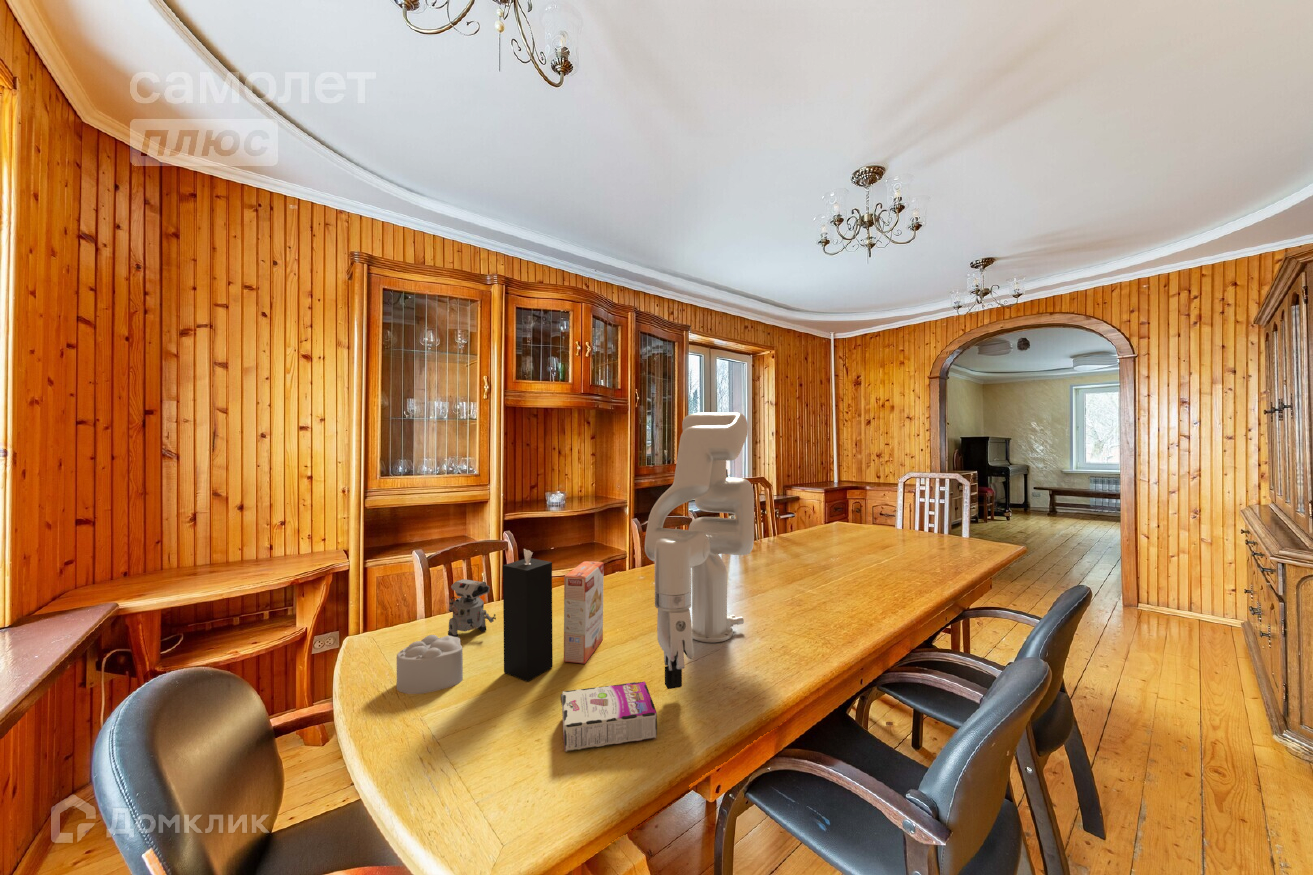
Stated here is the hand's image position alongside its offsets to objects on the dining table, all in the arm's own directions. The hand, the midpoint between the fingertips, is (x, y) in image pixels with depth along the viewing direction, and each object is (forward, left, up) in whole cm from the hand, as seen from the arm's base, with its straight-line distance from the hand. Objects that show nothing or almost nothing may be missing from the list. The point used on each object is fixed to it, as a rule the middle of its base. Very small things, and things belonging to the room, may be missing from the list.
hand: (673, 686), depth 99 cm
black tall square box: (+28, -21, -3) cm, 35 cm away
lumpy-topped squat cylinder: (+49, -23, -3) cm, 54 cm away
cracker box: (+14, -27, -3) cm, 30 cm away
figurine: (+42, -45, -3) cm, 62 cm away
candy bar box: (+7, +7, 0) cm, 10 cm away
